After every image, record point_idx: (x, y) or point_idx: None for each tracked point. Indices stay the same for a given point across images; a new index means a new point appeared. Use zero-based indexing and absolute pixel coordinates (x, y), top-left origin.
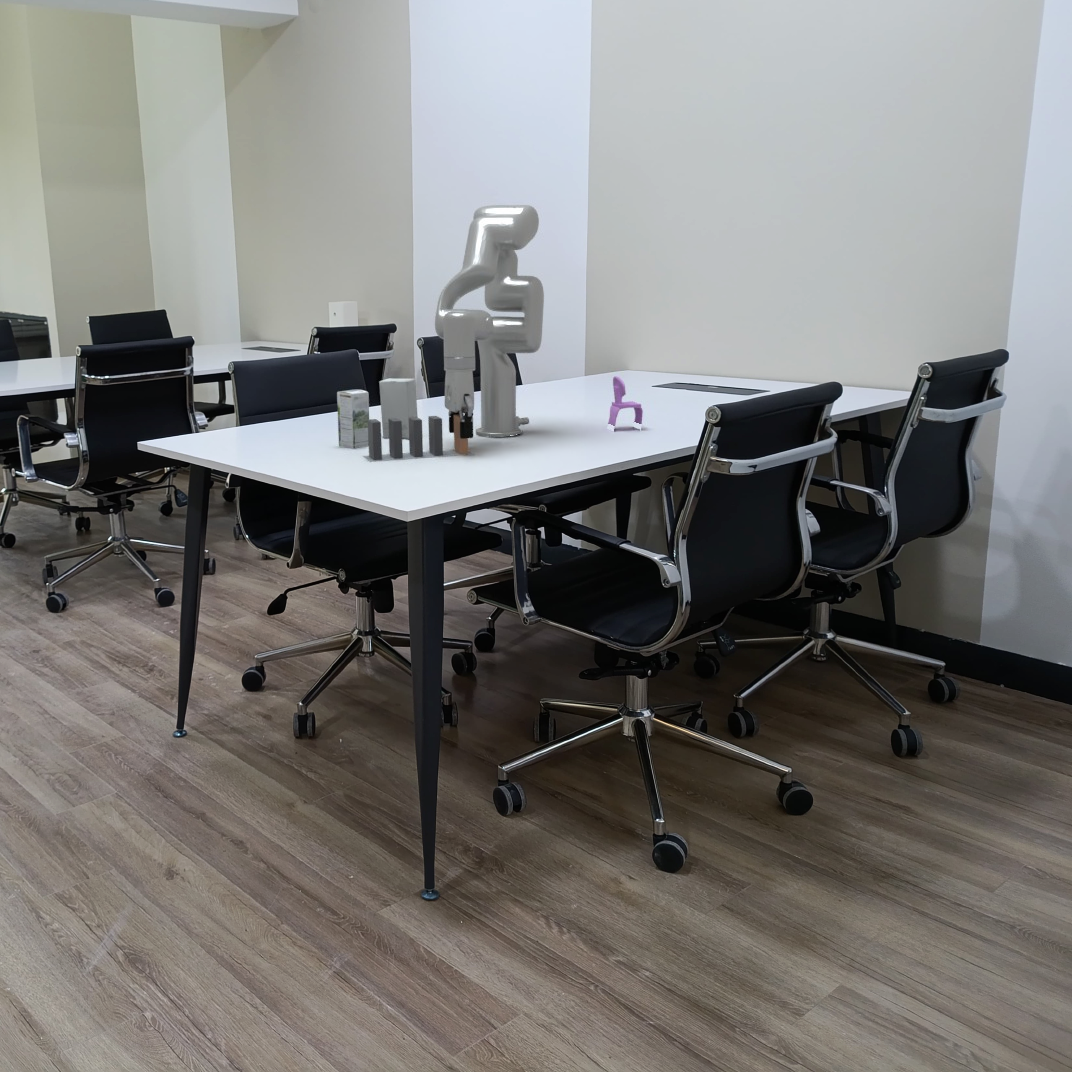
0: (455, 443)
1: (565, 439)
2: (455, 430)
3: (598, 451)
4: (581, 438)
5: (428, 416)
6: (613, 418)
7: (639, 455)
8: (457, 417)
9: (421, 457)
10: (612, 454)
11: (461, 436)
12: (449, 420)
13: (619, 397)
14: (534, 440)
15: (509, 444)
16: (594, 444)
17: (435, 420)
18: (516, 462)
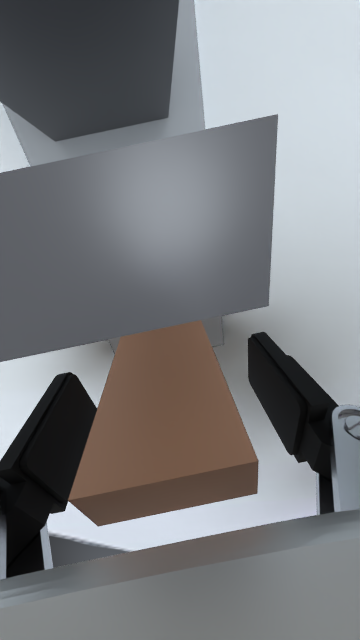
0: (185, 329)
1: (276, 490)
2: (188, 370)
3: (153, 517)
4: (274, 502)
5: (260, 118)
6: None
7: (115, 541)
8: (140, 476)
9: (33, 127)
10: (125, 527)
11: (54, 383)
12: (294, 383)
13: None
14: (292, 461)
15: (270, 430)
16: (216, 512)
17: None
18: None
